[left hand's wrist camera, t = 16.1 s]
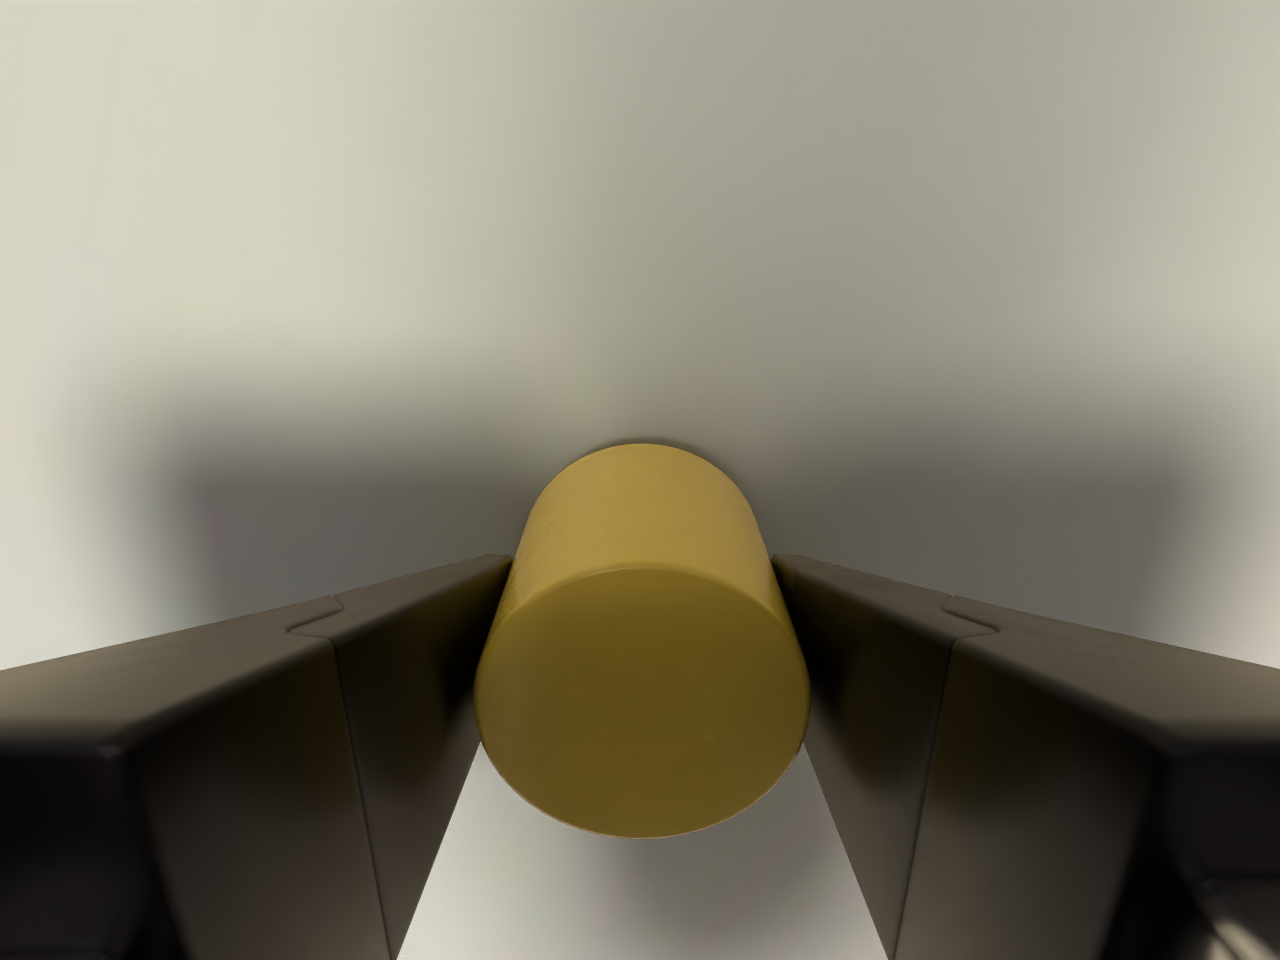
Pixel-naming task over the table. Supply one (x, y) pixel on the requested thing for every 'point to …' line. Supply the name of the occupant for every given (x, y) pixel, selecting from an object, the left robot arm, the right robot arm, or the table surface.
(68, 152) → the table surface
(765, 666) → the tin
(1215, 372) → the table surface
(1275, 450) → the table surface
